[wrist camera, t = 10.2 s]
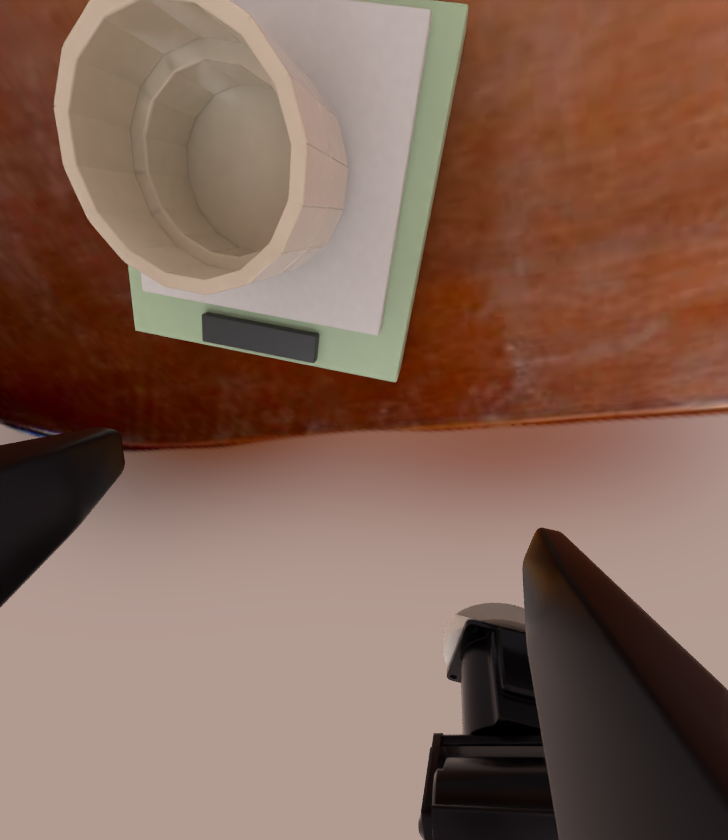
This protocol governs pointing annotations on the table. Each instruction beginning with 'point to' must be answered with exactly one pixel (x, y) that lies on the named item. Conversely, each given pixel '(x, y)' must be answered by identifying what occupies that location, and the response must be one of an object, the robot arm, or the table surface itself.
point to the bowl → (197, 143)
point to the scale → (365, 191)
